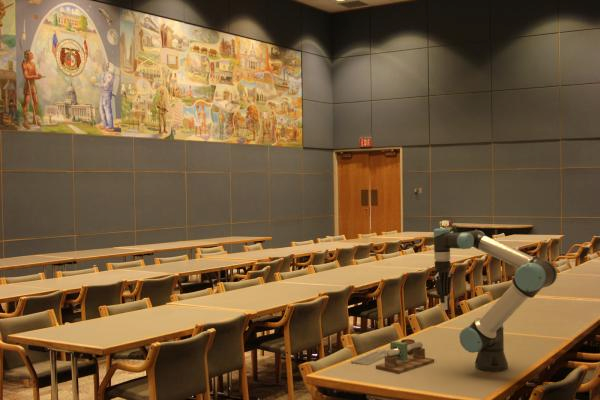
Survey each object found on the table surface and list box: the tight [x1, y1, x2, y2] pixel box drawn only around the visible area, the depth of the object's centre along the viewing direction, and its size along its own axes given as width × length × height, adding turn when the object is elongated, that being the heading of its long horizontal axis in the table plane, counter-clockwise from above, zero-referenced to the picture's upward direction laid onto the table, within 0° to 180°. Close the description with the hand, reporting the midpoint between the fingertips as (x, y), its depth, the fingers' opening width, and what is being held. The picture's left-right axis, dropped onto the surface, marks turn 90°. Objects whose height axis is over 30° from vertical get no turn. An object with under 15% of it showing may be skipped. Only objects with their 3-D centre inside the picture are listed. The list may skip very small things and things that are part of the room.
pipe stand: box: [375, 347, 435, 375], centre depth 338 cm, size 28×14×6 cm, turn 133°
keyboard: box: [350, 348, 388, 367], centre depth 354 cm, size 29×10×2 cm, turn 145°
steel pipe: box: [387, 341, 423, 357], centre depth 338 cm, size 24×3×3 cm, turn 133°
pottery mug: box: [400, 338, 416, 355], centre depth 363 cm, size 12×10×8 cm
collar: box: [389, 340, 409, 361], centre depth 334 cm, size 3×8×8 cm, turn 43°
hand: (444, 309), depth 332 cm, fingers closed
